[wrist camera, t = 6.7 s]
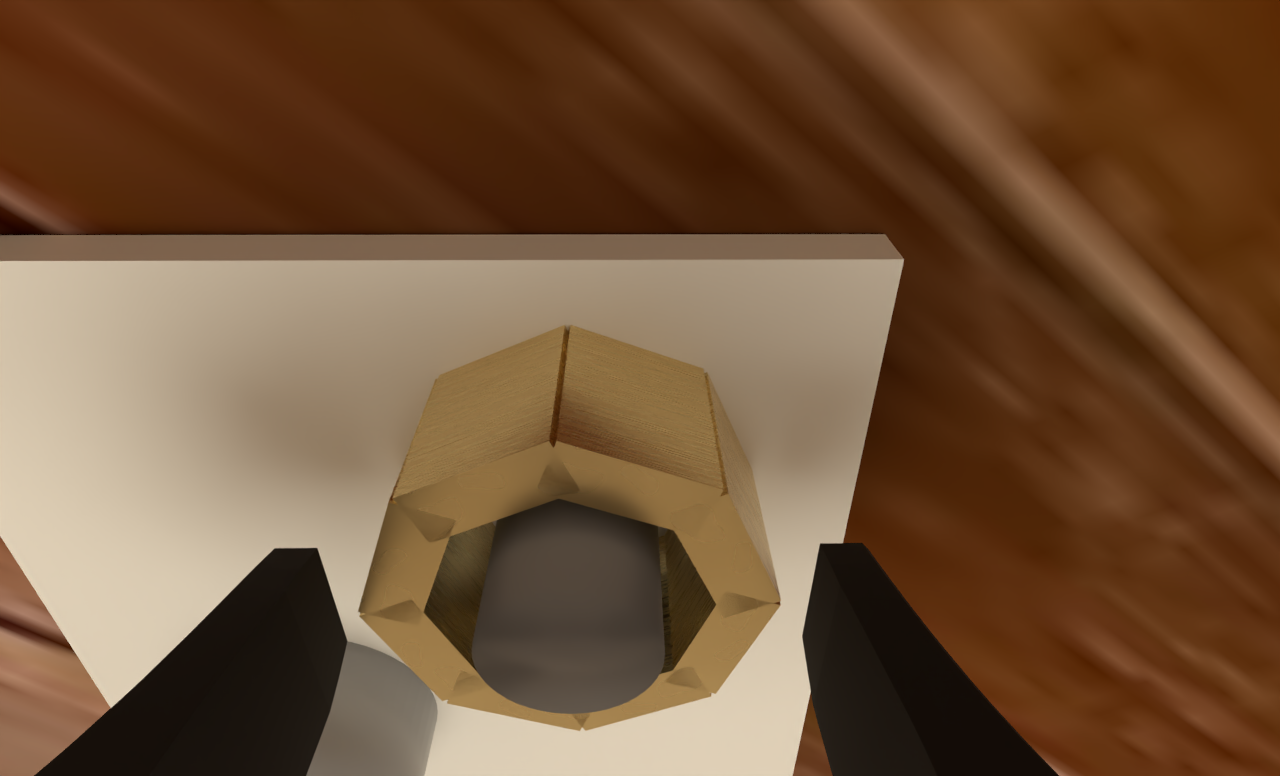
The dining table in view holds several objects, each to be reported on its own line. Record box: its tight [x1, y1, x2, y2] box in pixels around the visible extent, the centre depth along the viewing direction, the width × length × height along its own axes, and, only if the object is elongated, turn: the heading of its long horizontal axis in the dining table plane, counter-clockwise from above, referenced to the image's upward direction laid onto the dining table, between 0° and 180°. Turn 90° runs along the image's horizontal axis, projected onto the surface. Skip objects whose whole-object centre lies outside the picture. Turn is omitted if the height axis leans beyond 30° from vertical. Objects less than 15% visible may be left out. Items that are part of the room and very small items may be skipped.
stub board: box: [0, 234, 904, 776], centre depth 14 cm, size 16×15×5 cm
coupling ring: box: [358, 325, 781, 731], centre depth 12 cm, size 6×6×3 cm
